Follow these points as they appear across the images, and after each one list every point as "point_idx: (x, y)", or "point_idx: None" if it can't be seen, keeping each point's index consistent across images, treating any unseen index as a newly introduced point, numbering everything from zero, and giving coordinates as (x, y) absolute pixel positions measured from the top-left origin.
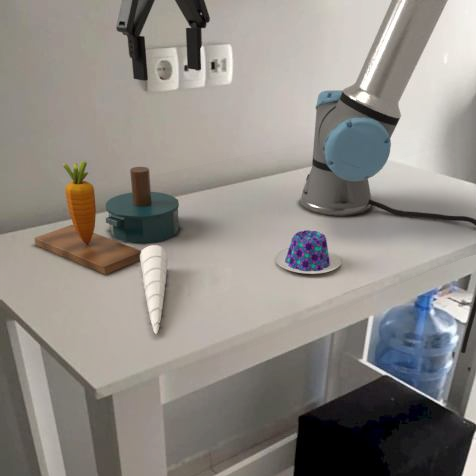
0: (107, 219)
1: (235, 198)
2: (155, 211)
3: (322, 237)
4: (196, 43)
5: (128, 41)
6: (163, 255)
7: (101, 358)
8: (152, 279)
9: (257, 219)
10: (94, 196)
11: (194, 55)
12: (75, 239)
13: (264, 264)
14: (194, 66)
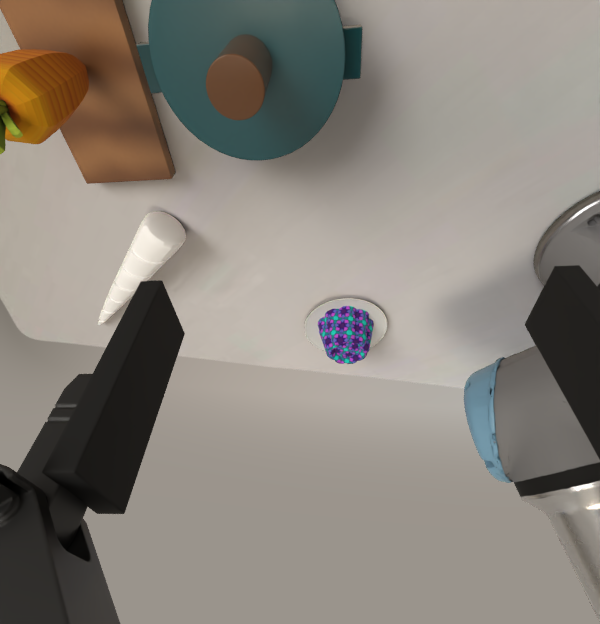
0: (139, 53)
1: (578, 49)
2: (240, 138)
3: (353, 361)
4: (588, 427)
5: (30, 457)
6: (166, 258)
7: (36, 315)
8: (124, 286)
9: (457, 188)
10: (63, 119)
11: (565, 359)
12: (61, 13)
13: (306, 297)
14: (541, 315)
